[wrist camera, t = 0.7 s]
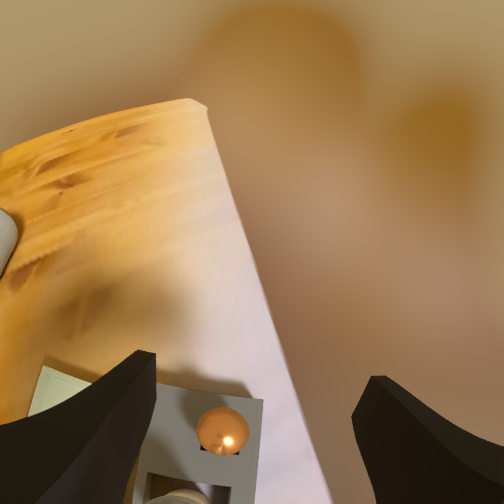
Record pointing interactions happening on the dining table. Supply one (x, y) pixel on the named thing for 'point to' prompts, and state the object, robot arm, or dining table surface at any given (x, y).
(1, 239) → the ceramic mug
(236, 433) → the orange round piece
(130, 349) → the dining table surface
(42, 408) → the tray
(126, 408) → the robot arm
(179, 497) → the cylinder
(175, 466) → the housing
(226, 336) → the dining table surface
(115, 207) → the dining table surface
